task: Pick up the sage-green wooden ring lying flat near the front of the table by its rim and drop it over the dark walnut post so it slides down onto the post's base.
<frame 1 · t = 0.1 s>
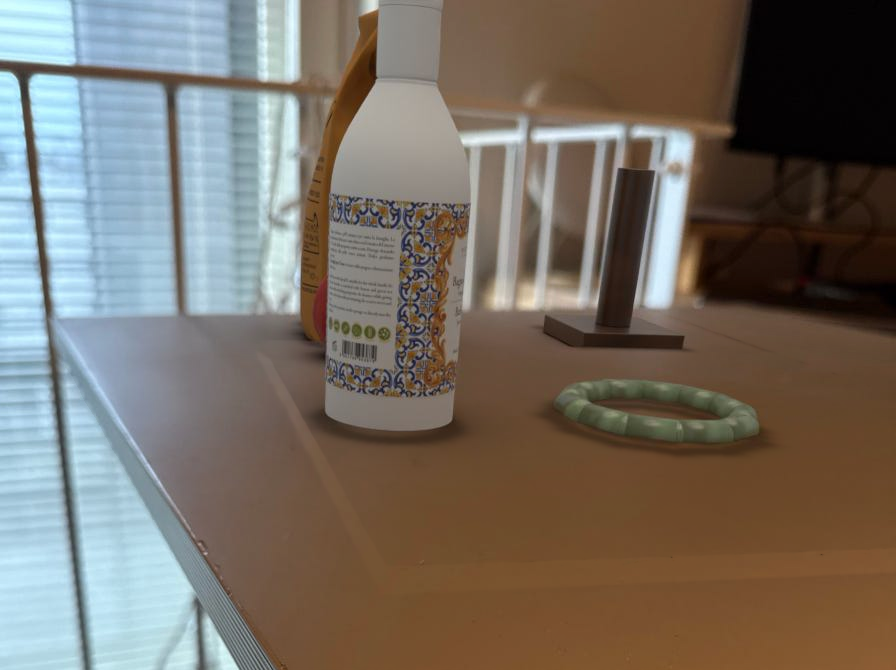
onion: (354, 373, 66), on the table
coffee package: (362, 341, 77), on the table
bath foam: (387, 432, 53), on the table
post: (609, 342, 83), on the table
ring: (655, 413, 56), point 1 cm above the table
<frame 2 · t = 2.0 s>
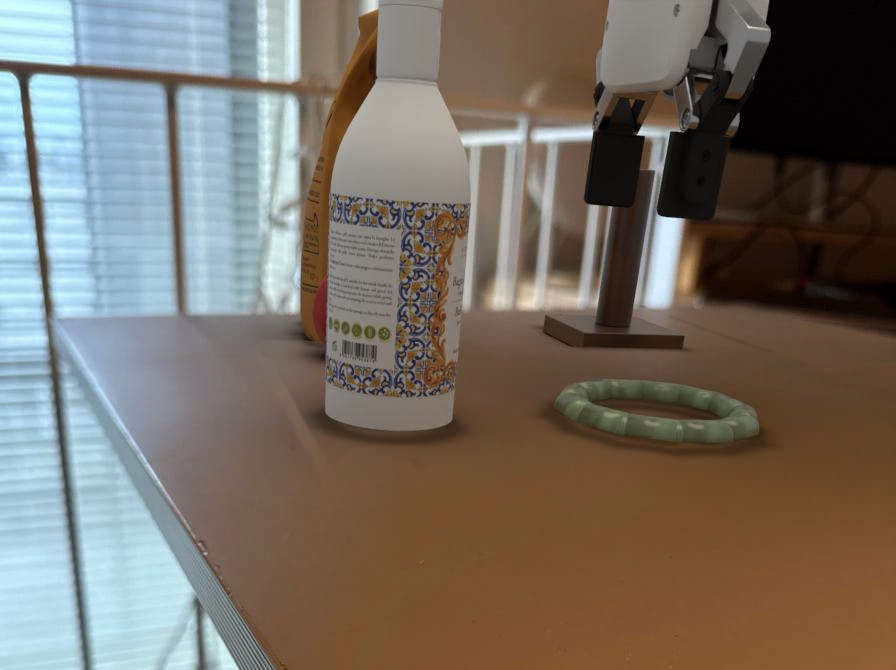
hand: (643, 211, 55), 11 cm above the table, tool pointing down, fingers open, 9 cm apart
nothing on the table moved.
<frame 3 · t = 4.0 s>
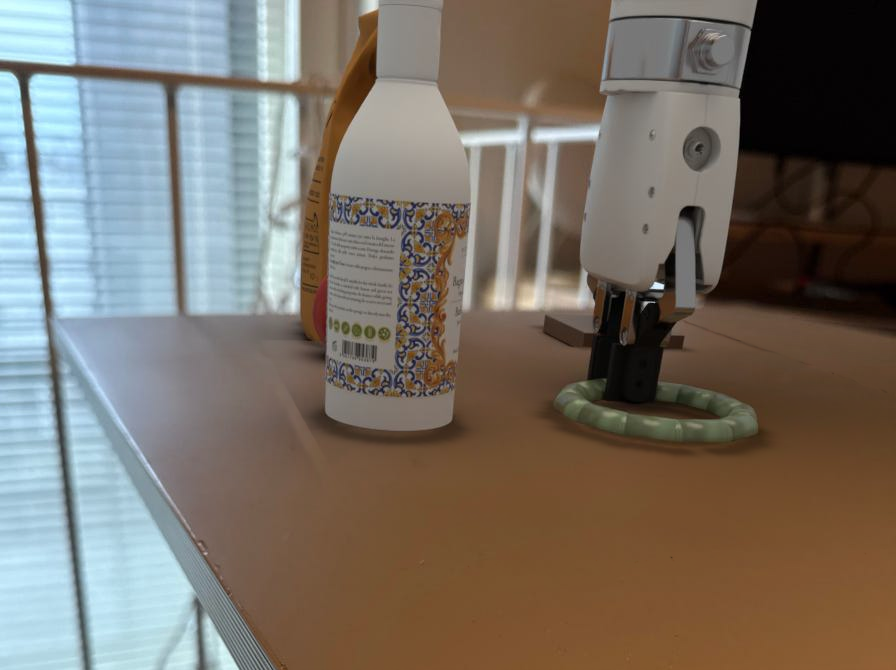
hand: (618, 402, 61), 0 cm above the table, tool pointing down, fingers closed on ring, 2 cm apart
ring: (654, 413, 56), point 1 cm above the table, touching gripper
everything else where it was.
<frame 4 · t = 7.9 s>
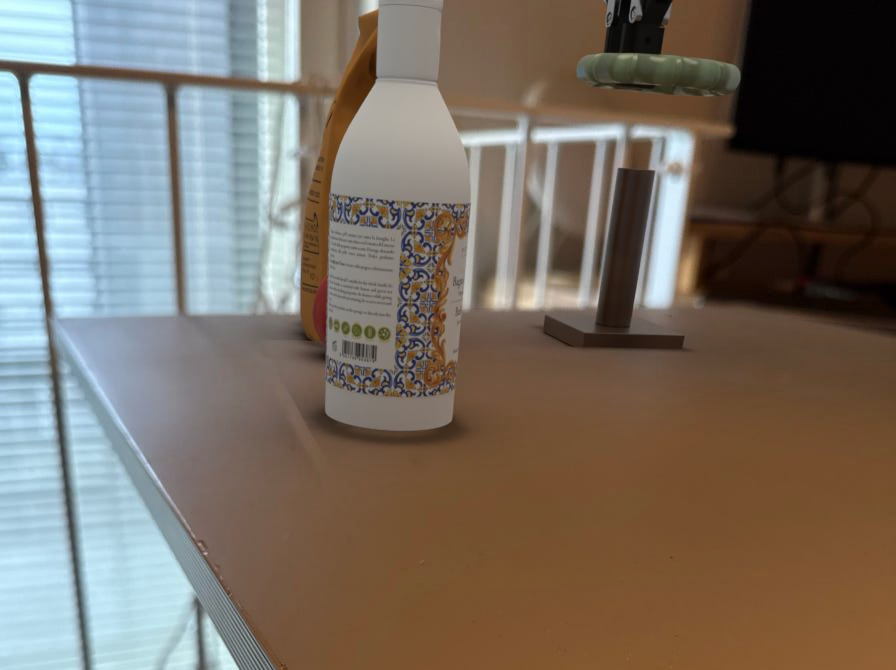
hand: (627, 85, 74), 19 cm above the table, tool pointing down, fingers closed on ring
ring: (657, 75, 70), point 20 cm above the table, touching gripper
everything else where it was.
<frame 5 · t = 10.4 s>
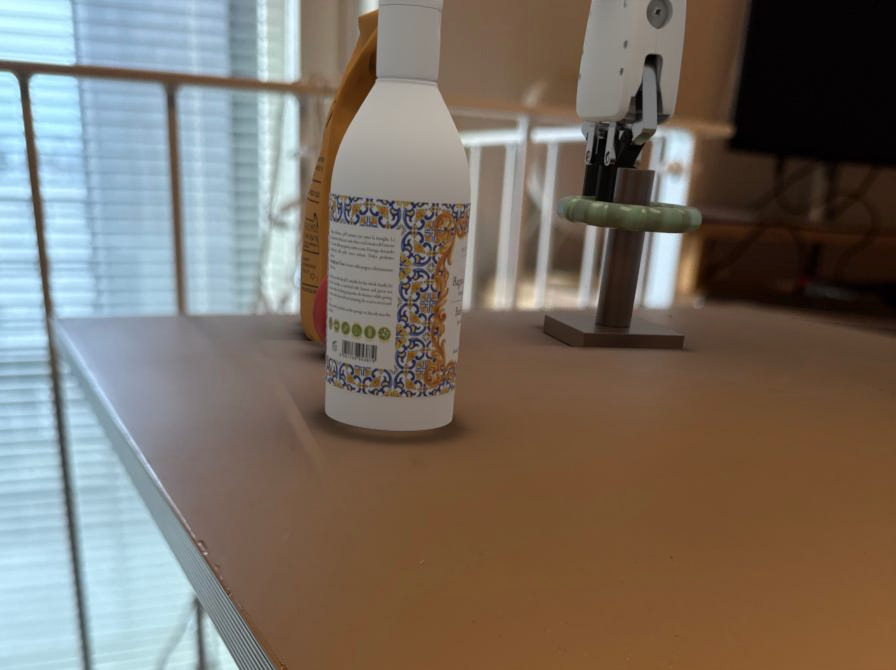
hand: (604, 215, 83), 10 cm above the table, tool pointing down, fingers closed on ring
ring: (629, 213, 78), point 10 cm above the table, touching gripper
everything else where it was.
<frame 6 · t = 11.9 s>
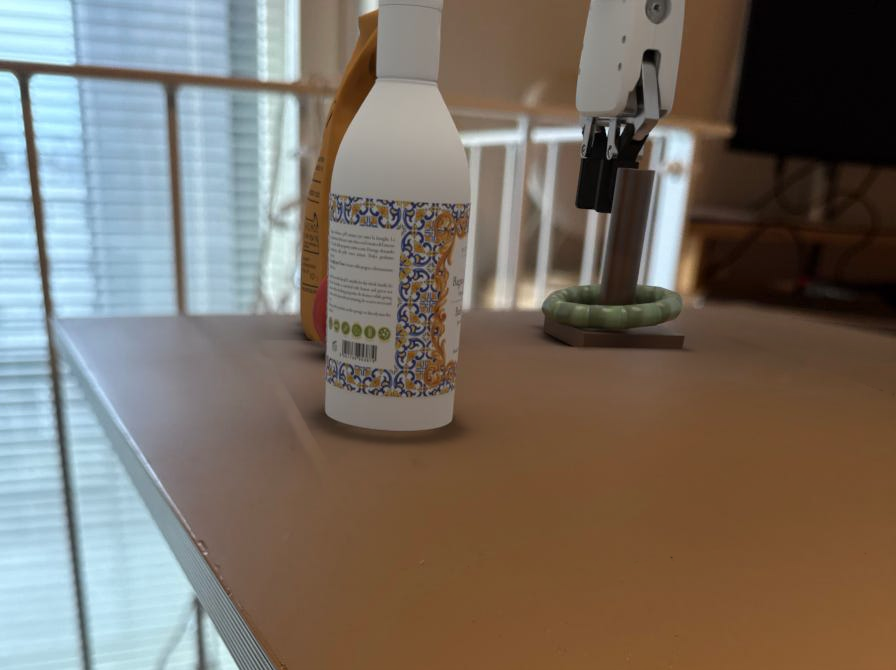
hand: (602, 209, 83), 10 cm above the table, tool pointing down, fingers open, 3 cm apart
ring: (611, 305, 82), point 3 cm above the table, tilted 7°, touching post
everything else where it was.
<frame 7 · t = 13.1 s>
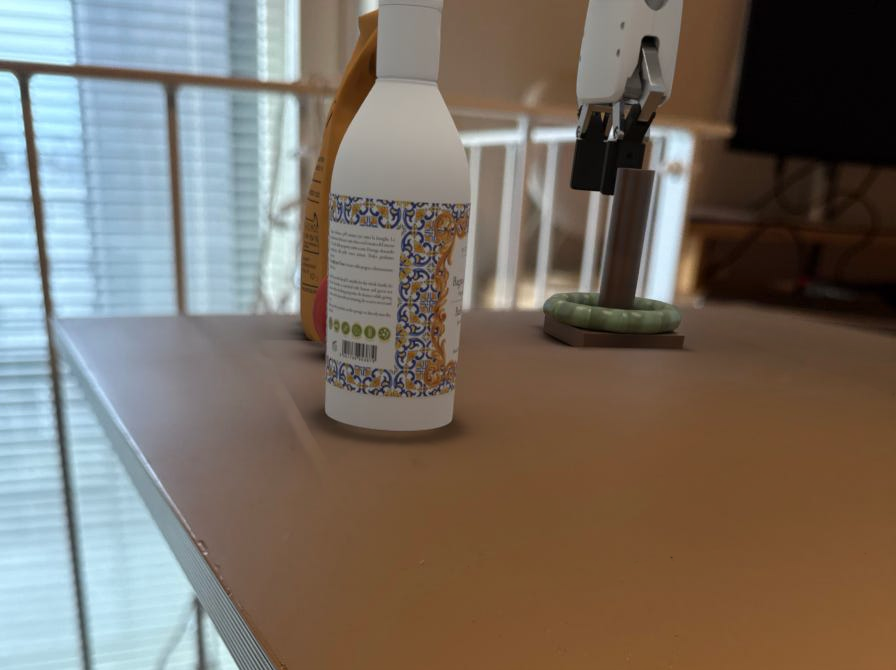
hand: (602, 191, 83), 12 cm above the table, tool pointing down, fingers open, 6 cm apart
ring: (612, 312, 82), point 2 cm above the table, touching post
everything else where it was.
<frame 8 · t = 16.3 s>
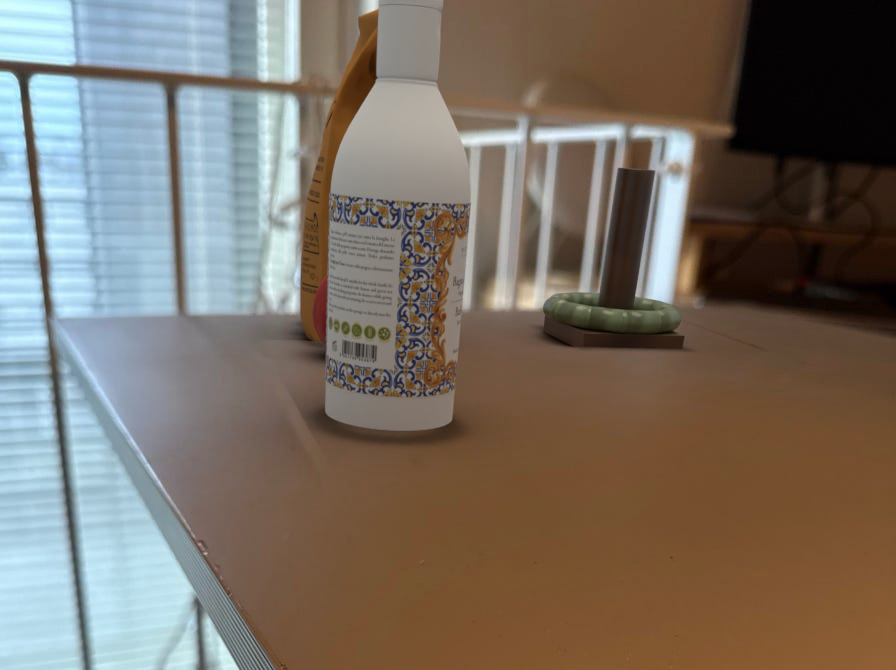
nothing on the table moved.
at the end: ring 0.7 cm from the post (horizontally); ring point 2.4 cm above the table; the gripper is holding nothing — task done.
